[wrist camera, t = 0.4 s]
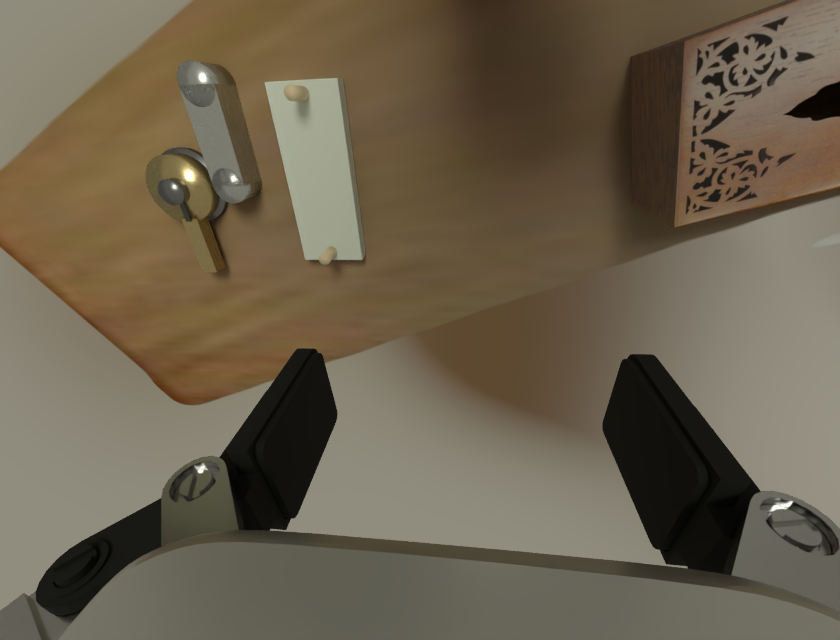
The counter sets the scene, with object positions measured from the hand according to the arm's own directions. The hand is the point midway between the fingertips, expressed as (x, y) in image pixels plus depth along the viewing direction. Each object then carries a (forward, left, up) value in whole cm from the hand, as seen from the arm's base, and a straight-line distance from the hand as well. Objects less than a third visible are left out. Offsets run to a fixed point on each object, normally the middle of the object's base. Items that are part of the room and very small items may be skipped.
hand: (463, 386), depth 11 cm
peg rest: (-1, -17, -36) cm, 40 cm away
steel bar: (-6, -28, -36) cm, 46 cm away
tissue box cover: (-8, +30, -36) cm, 48 cm away
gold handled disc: (+3, -35, -34) cm, 50 cm away
